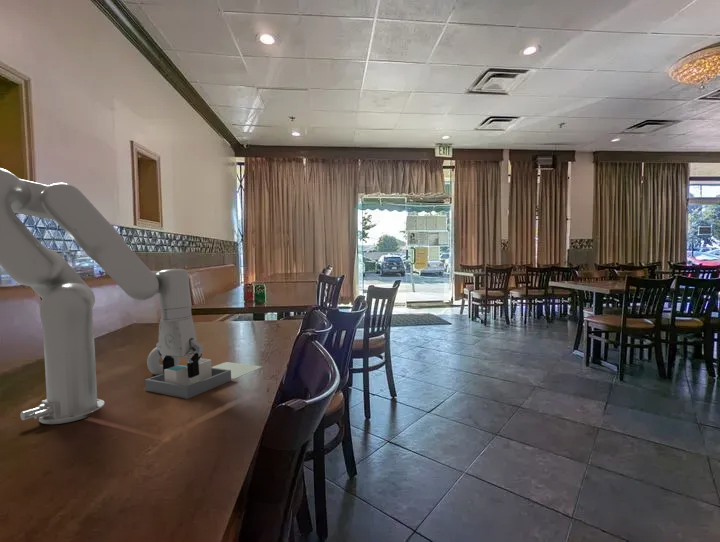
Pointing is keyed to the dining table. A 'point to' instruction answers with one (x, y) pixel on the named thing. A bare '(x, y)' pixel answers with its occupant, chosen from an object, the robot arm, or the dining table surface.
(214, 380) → the parts bin
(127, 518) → the dining table surface
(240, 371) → the sage board
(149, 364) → the donut
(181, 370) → the teal label box
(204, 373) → the grey label box
